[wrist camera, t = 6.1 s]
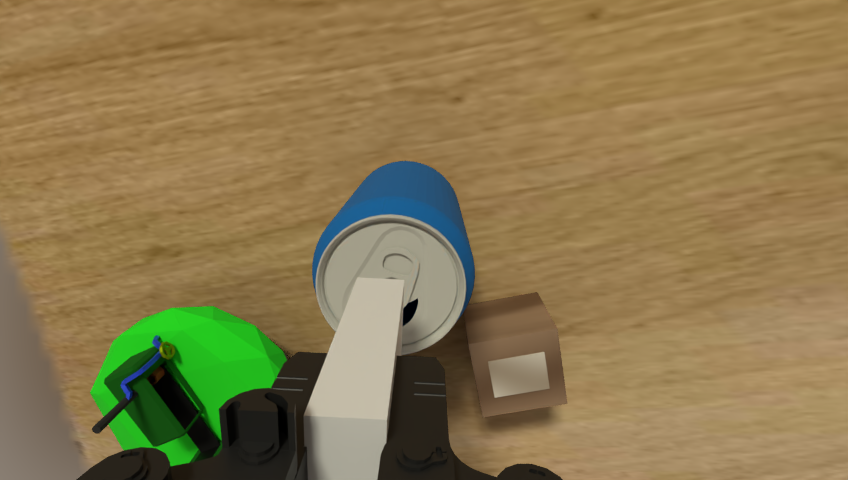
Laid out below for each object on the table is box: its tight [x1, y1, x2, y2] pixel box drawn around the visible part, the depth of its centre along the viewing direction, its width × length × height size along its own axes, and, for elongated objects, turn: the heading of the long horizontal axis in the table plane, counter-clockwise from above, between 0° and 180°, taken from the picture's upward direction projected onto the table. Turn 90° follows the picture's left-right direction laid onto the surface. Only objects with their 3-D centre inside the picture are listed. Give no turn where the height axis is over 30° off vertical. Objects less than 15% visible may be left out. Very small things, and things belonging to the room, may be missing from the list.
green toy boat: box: [90, 306, 288, 466], centre depth 26 cm, size 12×12×11 cm
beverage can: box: [312, 161, 475, 355], centre depth 23 cm, size 6×6×12 cm
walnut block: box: [463, 292, 567, 417], centre depth 28 cm, size 5×5×5 cm
